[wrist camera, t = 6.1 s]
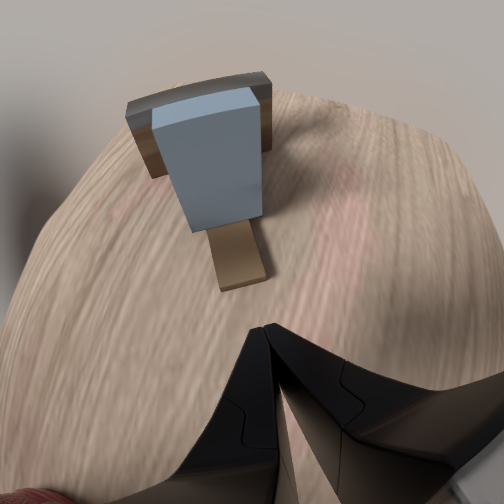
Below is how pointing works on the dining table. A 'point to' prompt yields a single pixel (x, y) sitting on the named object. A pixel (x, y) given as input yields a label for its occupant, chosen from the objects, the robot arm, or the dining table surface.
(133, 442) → the dining table surface
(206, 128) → the light blue l-shaped block
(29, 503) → the canister
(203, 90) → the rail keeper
